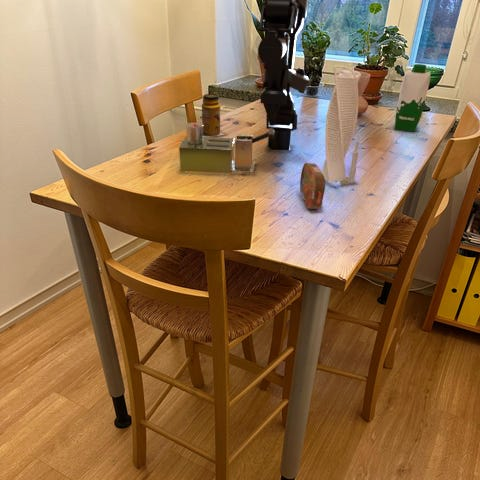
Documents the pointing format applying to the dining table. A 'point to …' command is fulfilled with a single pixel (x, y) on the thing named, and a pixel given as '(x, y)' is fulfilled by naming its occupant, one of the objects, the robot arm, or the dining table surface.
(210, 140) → the toaster slots
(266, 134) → the toaster lever
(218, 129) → the condiment
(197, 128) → the translucent cup
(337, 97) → the skyscraper
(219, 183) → the dining table surface
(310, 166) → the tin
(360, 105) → the ceramic jug
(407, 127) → the milk carton
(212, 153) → the toaster
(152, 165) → the dining table surface
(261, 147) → the dining table surface
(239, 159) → the lever bracket
